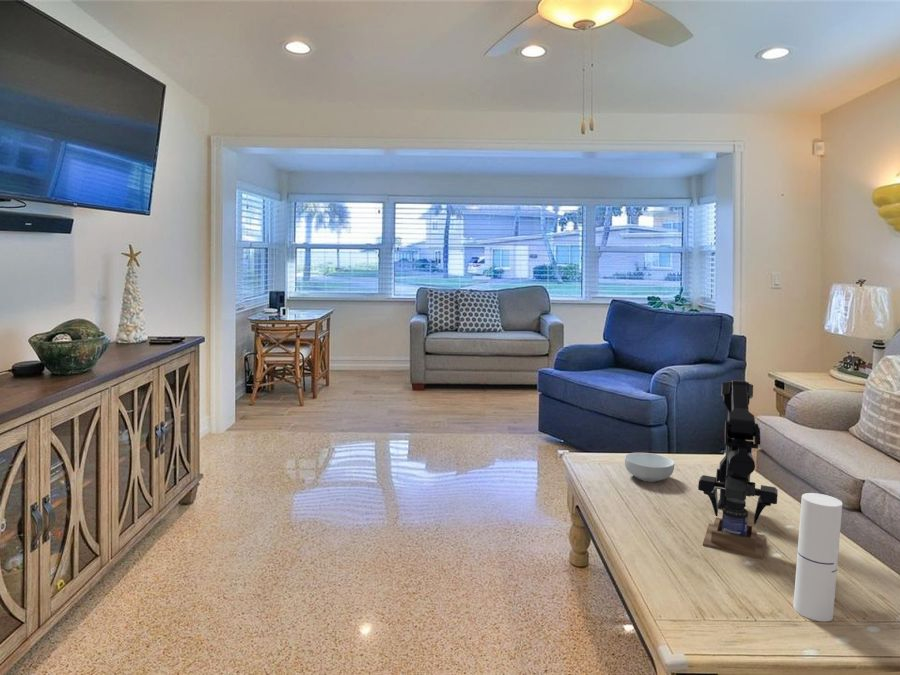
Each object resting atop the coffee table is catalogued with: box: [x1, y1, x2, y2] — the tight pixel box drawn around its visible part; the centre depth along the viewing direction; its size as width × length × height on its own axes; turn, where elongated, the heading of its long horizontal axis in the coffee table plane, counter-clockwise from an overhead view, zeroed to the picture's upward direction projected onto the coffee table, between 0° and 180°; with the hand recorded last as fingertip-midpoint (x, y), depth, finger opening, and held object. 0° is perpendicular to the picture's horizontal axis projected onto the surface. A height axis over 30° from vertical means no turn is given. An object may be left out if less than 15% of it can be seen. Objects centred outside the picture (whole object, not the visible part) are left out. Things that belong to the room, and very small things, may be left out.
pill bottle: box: [721, 498, 749, 537], centre depth 150 cm, size 6×6×11 cm
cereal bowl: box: [624, 452, 675, 483], centre depth 198 cm, size 17×17×7 cm
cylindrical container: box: [792, 492, 843, 622], centre depth 118 cm, size 7×7×25 cm
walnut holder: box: [702, 517, 765, 560], centre depth 151 cm, size 14×14×4 cm
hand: (735, 519), depth 150 cm, fingers open, 9 cm apart
